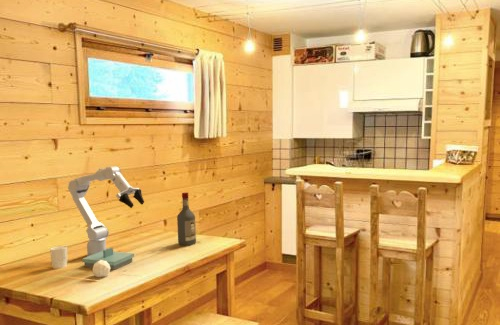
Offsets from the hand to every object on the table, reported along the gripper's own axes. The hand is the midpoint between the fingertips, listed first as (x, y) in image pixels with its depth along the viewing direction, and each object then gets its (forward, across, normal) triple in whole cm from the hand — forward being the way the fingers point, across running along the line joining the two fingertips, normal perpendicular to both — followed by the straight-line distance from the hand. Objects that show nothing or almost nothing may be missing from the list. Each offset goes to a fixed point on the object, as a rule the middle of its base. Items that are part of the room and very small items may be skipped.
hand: (137, 205), depth 232 cm
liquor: (+22, +38, +24) cm, 50 cm away
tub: (+14, -14, +27) cm, 33 cm away
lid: (+12, -14, +25) cm, 30 cm away
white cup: (-1, -27, +41) cm, 49 cm away
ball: (+21, -28, +18) cm, 39 cm away
